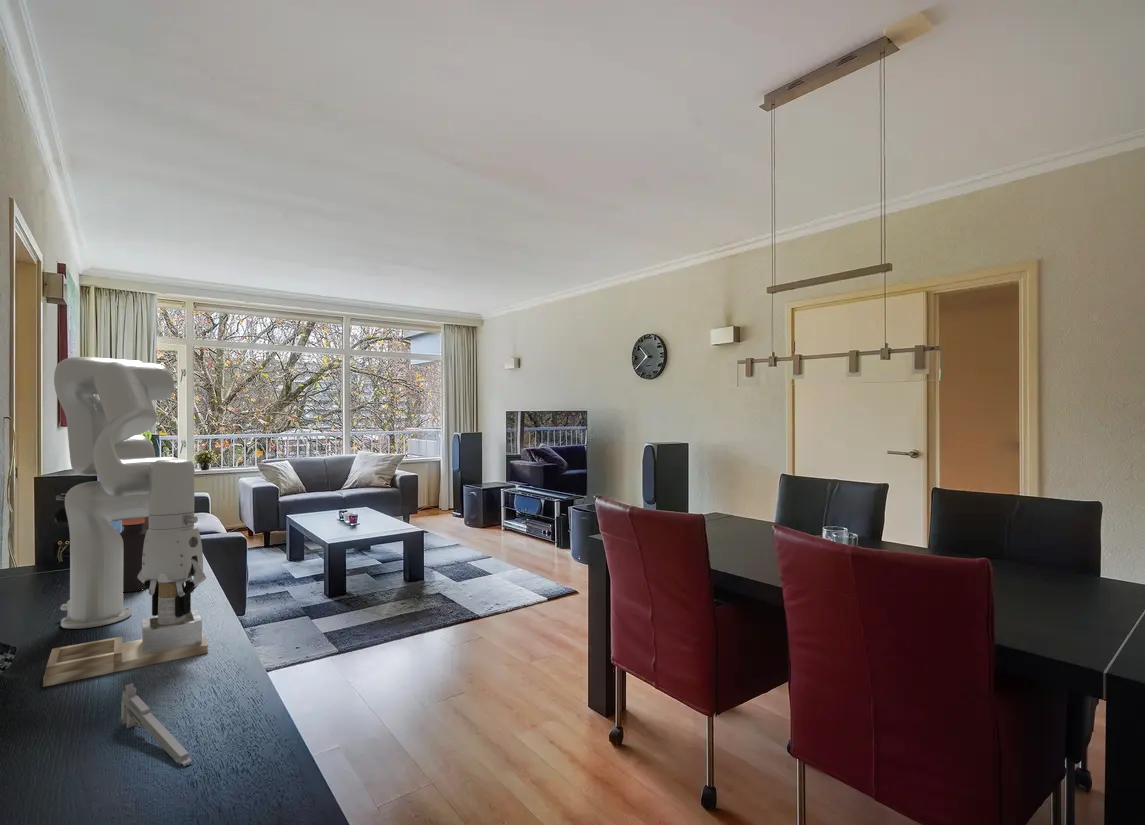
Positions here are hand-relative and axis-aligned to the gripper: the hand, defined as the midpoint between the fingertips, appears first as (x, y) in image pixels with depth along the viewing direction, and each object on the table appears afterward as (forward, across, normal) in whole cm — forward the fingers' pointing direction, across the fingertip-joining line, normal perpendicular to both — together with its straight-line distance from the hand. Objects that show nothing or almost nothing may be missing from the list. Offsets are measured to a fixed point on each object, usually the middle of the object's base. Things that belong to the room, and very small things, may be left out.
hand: (171, 613), depth 117 cm
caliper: (+8, -25, +31) cm, 40 cm away
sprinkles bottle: (+5, 0, 0) cm, 5 cm away
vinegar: (+8, +45, -37) cm, 59 cm away
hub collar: (+6, 0, 0) cm, 6 cm away
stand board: (+7, +4, +5) cm, 10 cm away
